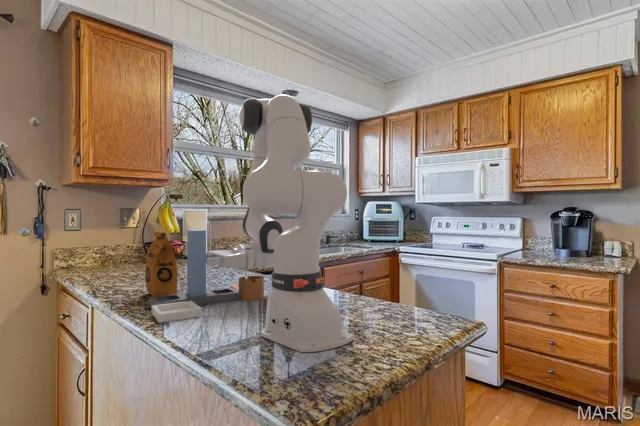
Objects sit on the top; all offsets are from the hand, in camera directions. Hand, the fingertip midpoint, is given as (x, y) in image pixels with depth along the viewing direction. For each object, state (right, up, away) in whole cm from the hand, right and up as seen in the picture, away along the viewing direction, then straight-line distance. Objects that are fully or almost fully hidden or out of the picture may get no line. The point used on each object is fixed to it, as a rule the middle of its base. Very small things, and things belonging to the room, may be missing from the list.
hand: (201, 259), depth 117 cm
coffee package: (-17, -14, +10) cm, 24 cm away
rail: (-1, -14, -1) cm, 14 cm away
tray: (-2, -14, -15) cm, 20 cm away
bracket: (+12, -14, +10) cm, 21 cm away
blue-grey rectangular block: (-1, -14, -1) cm, 14 cm away
